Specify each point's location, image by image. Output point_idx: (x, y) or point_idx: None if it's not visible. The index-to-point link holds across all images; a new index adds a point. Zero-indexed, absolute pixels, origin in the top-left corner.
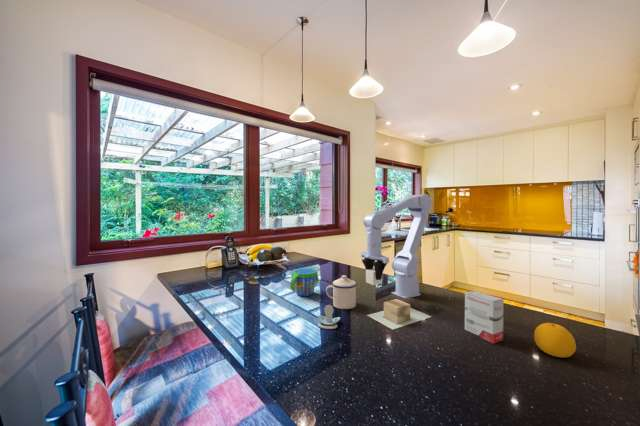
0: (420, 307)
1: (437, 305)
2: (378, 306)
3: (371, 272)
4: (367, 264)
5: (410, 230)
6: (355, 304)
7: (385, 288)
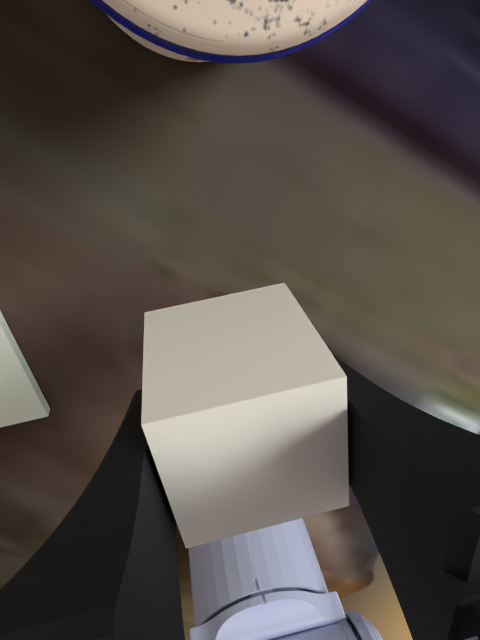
0: (18, 479)
1: (33, 554)
2: (95, 252)
3: (185, 404)
4: (397, 482)
5: None
6: (114, 22)
7: None
